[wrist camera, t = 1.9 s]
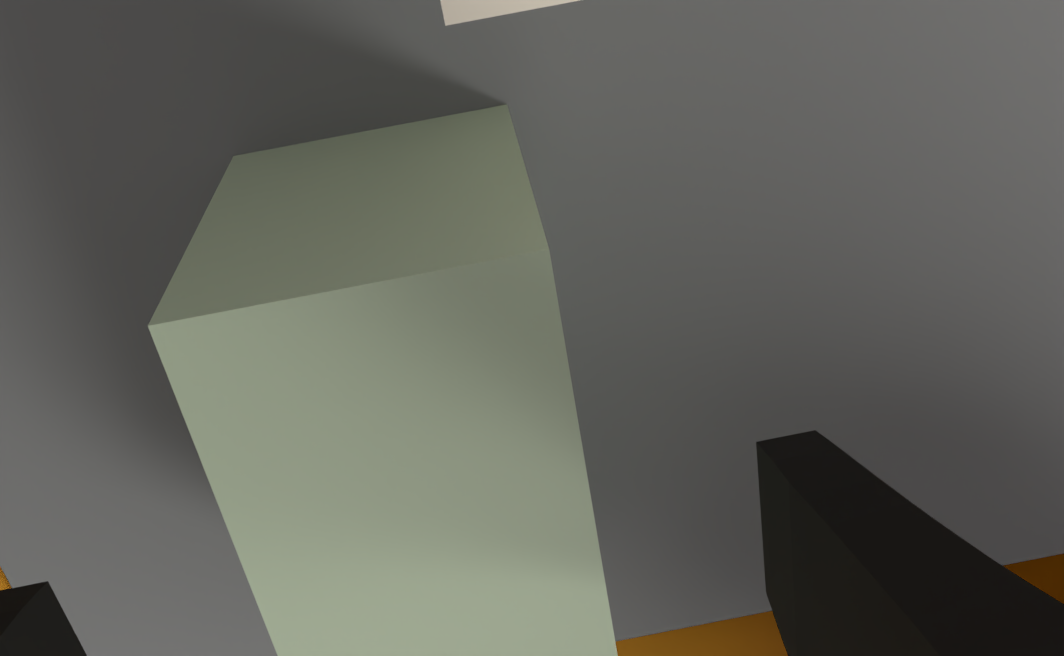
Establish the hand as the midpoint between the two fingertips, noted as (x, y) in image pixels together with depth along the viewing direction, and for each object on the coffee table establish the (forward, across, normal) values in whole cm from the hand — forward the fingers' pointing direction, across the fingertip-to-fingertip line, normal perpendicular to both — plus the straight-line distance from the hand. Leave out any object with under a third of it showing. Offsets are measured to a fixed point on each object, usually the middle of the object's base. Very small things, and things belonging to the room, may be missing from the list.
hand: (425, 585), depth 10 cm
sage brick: (+5, 0, 0) cm, 5 cm away
